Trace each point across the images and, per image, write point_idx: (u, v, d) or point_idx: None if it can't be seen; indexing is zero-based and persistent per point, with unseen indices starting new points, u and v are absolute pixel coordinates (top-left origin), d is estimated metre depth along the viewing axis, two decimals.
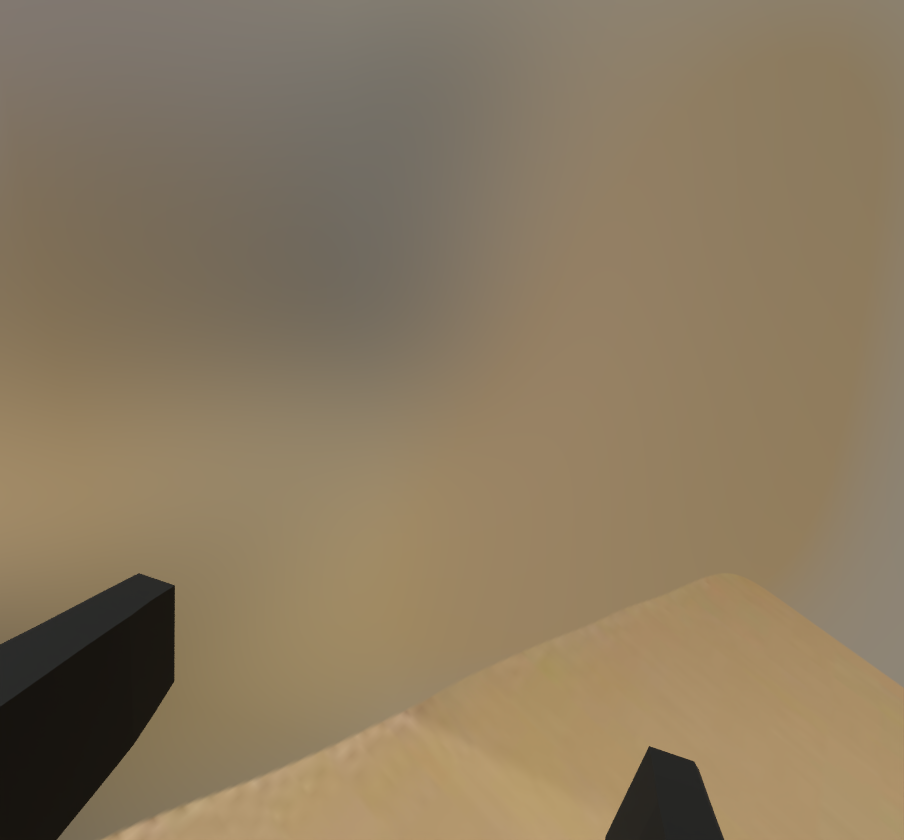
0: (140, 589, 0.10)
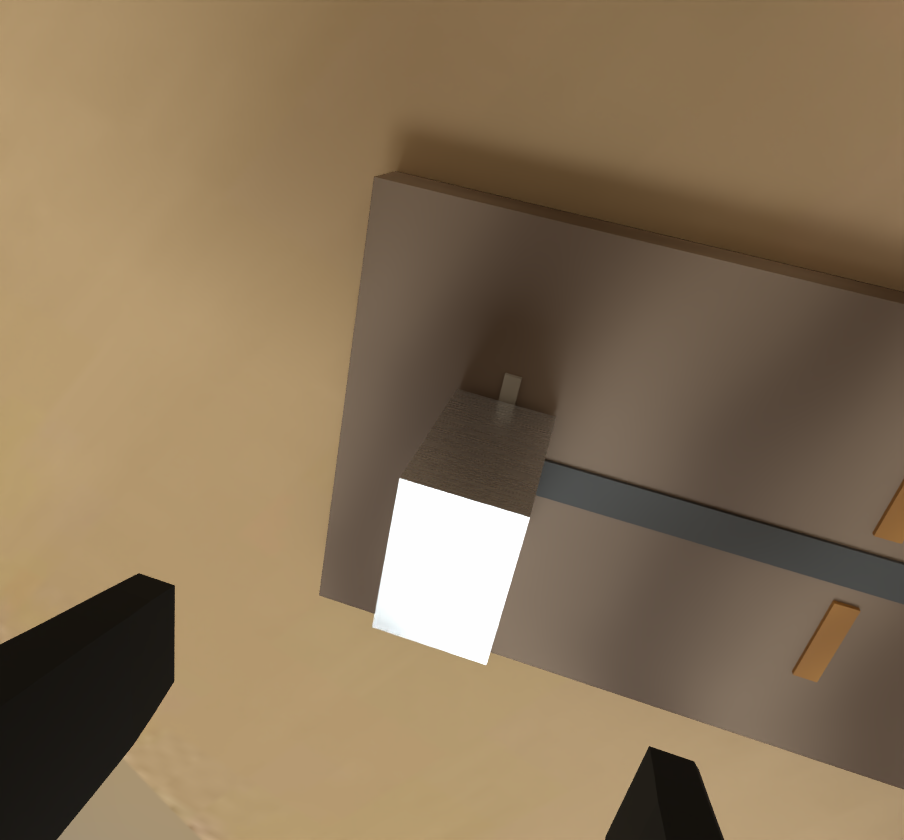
0: (140, 590, 0.10)
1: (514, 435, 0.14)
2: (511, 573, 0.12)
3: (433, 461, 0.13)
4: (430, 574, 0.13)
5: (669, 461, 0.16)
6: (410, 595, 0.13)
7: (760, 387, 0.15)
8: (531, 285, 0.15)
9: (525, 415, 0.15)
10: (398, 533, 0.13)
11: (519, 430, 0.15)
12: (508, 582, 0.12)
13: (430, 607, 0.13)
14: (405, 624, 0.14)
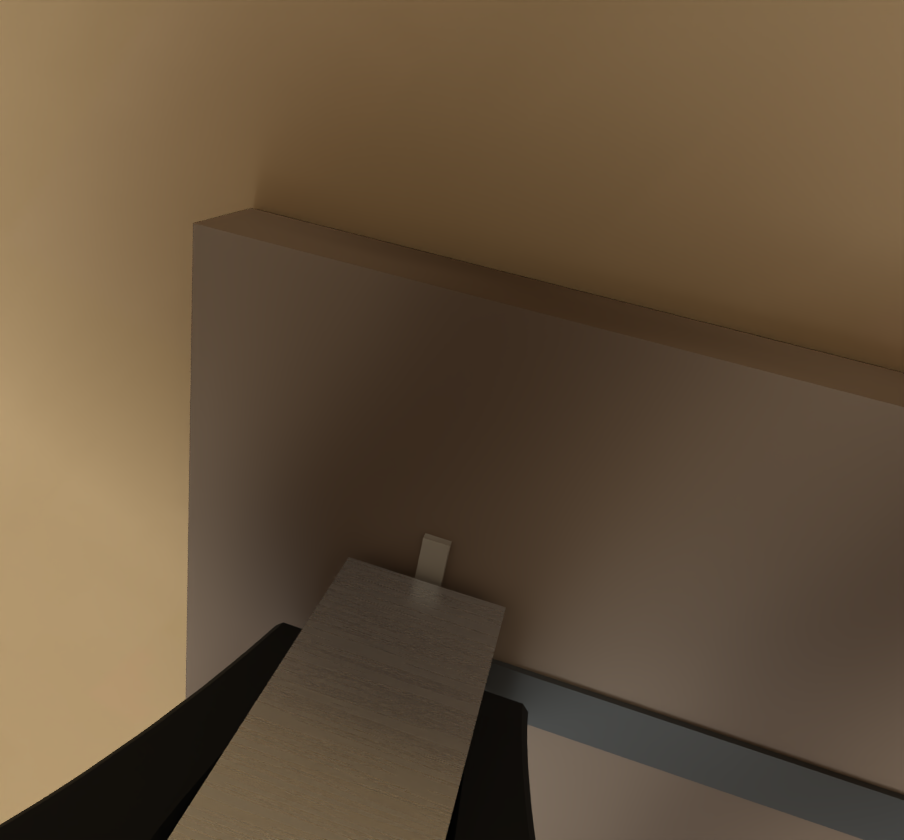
0: (291, 641, 0.09)
1: (427, 667, 0.08)
2: None
3: (255, 770, 0.07)
4: None
5: (689, 677, 0.10)
6: None
7: (847, 582, 0.09)
8: (459, 404, 0.09)
9: (454, 610, 0.09)
10: None
11: (438, 652, 0.09)
12: None
13: None
14: None
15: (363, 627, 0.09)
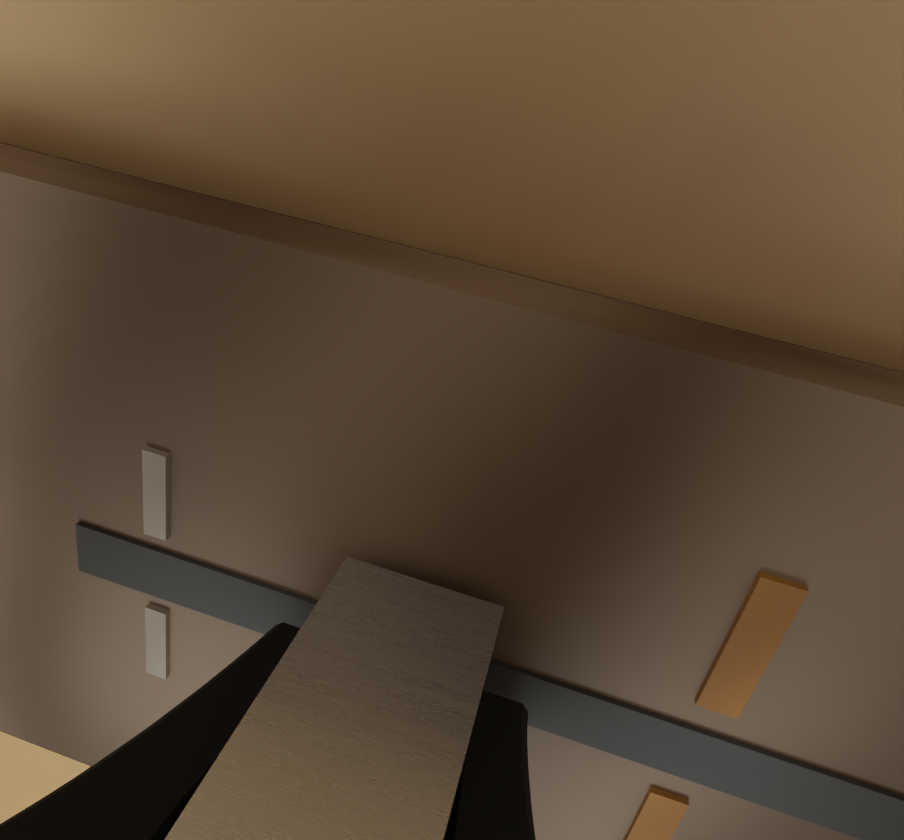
0: (291, 641, 0.09)
1: (425, 667, 0.08)
2: None
3: (252, 770, 0.07)
4: None
5: None
6: None
7: (504, 480, 0.09)
8: (150, 316, 0.09)
9: (452, 610, 0.09)
10: None
11: (436, 651, 0.09)
12: None
13: None
14: None
15: (361, 626, 0.09)
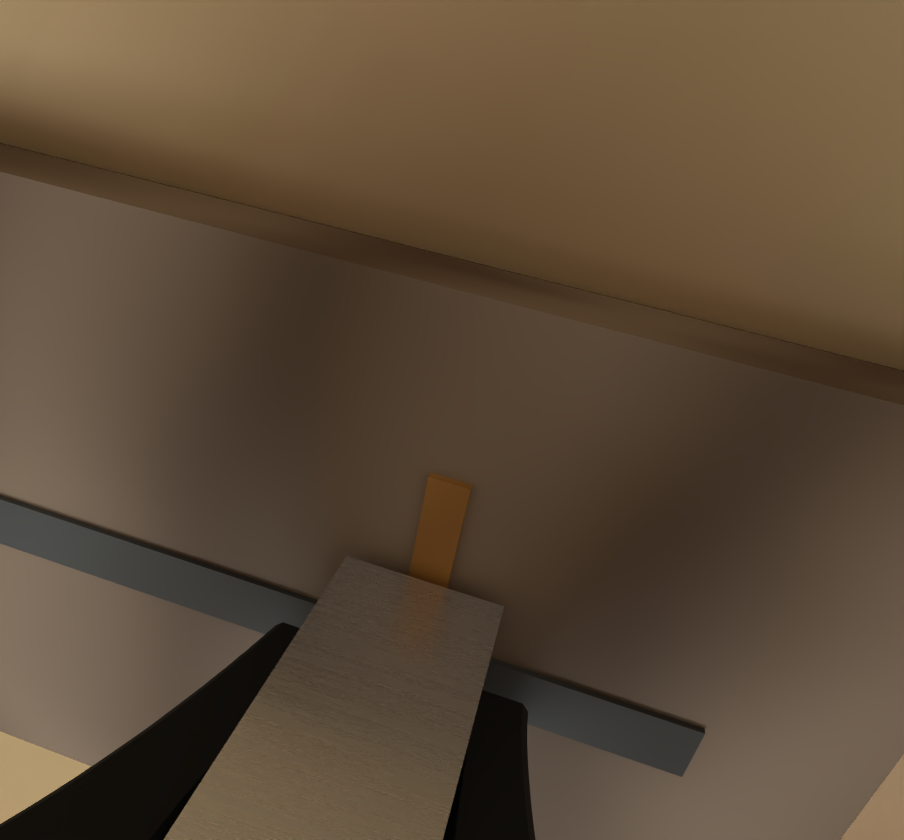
0: None
1: (425, 666, 0.08)
2: None
3: (252, 769, 0.07)
4: None
5: (131, 497, 0.11)
6: None
7: (203, 390, 0.10)
8: None
9: (452, 609, 0.09)
10: None
11: (436, 651, 0.09)
12: None
13: None
14: None
15: (361, 626, 0.09)
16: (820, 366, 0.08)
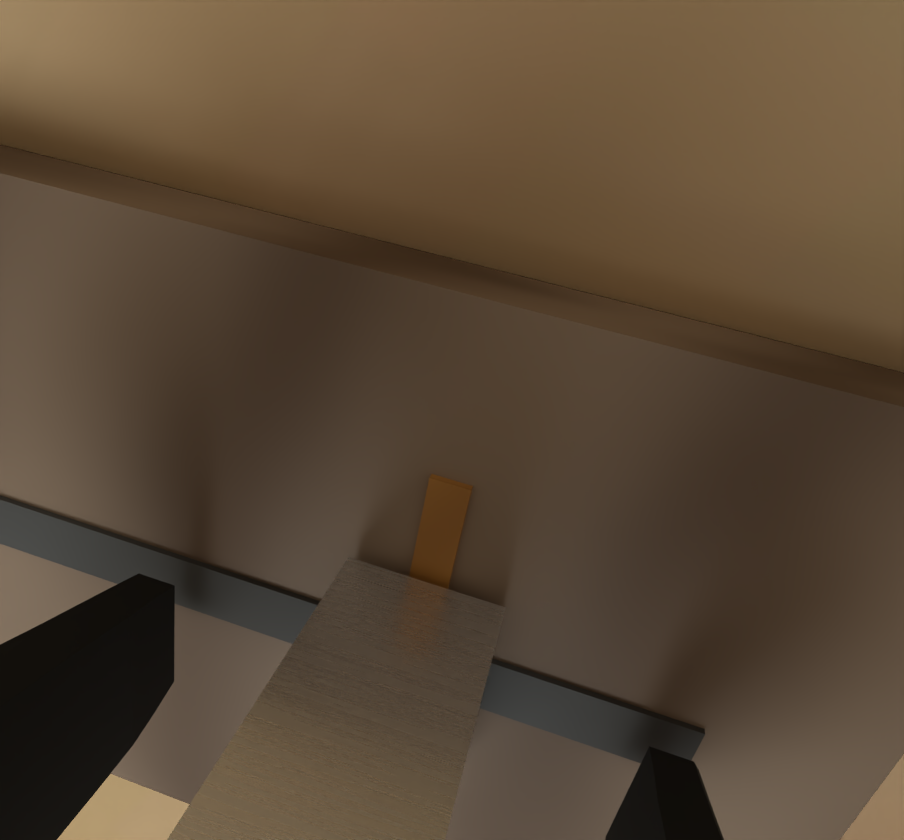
0: (140, 590, 0.10)
1: (427, 667, 0.08)
2: None
3: (255, 770, 0.07)
4: None
5: (133, 498, 0.11)
6: None
7: (204, 392, 0.10)
8: None
9: (454, 610, 0.09)
10: None
11: (438, 652, 0.09)
12: None
13: None
14: None
15: (363, 627, 0.09)
16: (819, 367, 0.08)
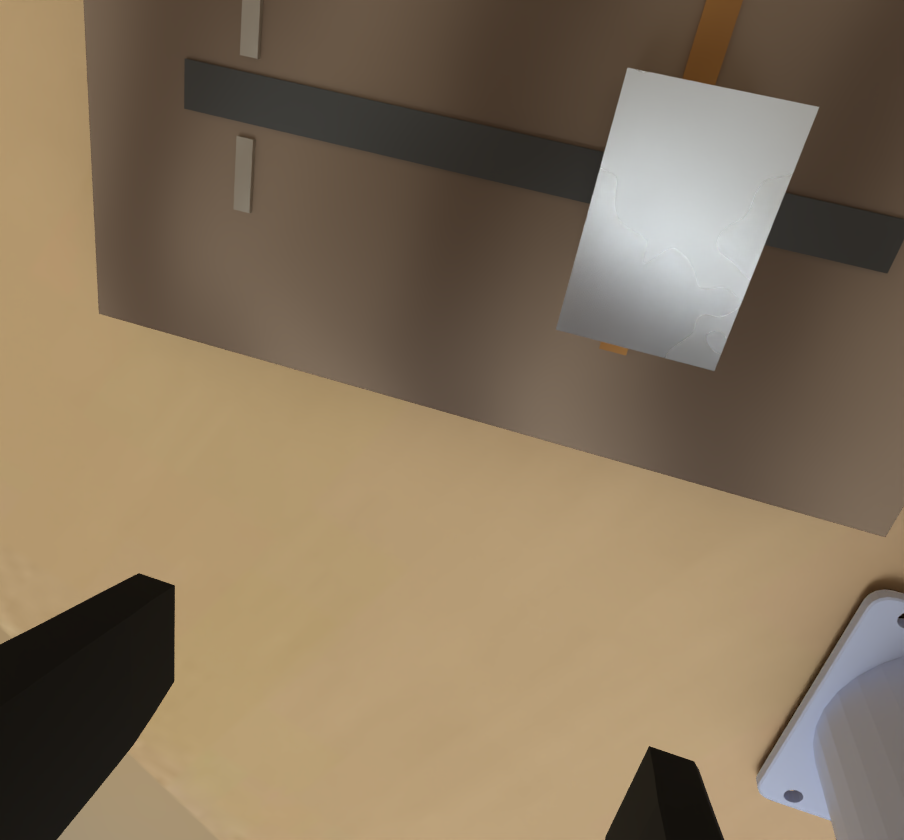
0: (140, 589, 0.10)
1: None
2: (775, 211, 0.09)
3: None
4: (652, 230, 0.09)
5: (435, 67, 0.14)
6: (617, 269, 0.10)
7: None
8: None
9: None
10: (614, 164, 0.09)
11: None
12: (768, 227, 0.09)
13: (644, 285, 0.10)
14: (604, 319, 0.10)
15: None
16: None
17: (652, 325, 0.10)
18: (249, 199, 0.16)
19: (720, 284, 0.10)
